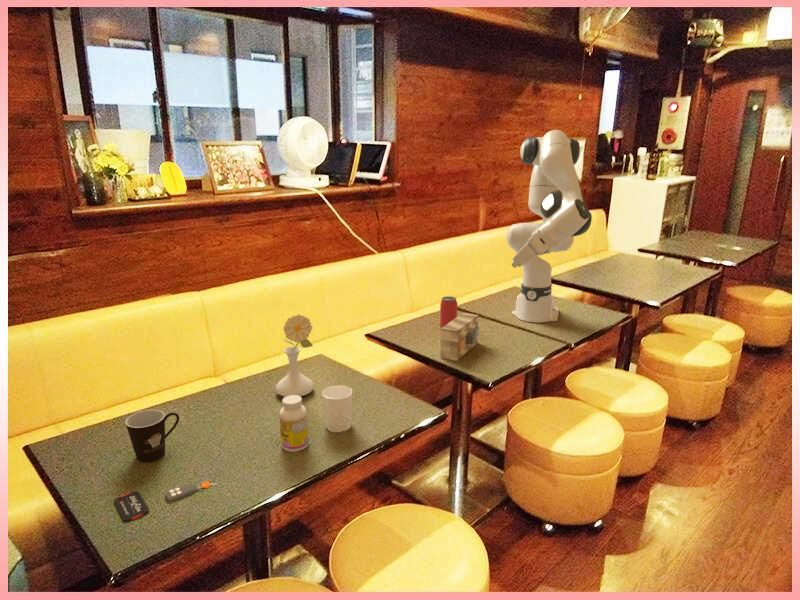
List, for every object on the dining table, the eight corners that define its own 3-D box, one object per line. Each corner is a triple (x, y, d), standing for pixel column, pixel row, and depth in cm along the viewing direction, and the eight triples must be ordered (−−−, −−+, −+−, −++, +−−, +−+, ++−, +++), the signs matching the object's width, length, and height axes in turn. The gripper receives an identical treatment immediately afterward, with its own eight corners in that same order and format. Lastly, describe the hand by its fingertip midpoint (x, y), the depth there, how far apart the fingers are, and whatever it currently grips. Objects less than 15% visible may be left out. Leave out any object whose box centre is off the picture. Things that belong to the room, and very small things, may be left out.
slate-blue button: (471, 333, 204) (471, 326, 203) (478, 335, 202) (479, 327, 201) (467, 336, 201) (468, 328, 200) (475, 338, 200) (475, 330, 199)
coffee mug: (131, 468, 130) (124, 430, 127) (131, 450, 138) (125, 413, 135) (184, 457, 135) (179, 420, 132) (182, 439, 142) (177, 404, 139)
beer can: (457, 330, 217) (458, 301, 213) (440, 330, 217) (440, 301, 214) (456, 324, 223) (456, 296, 220) (439, 324, 223) (440, 296, 220)
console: (462, 339, 208) (463, 312, 205) (477, 342, 205) (478, 315, 202) (440, 357, 192) (440, 328, 189) (456, 360, 189) (457, 331, 186)
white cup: (320, 422, 150) (318, 388, 147) (348, 416, 153) (346, 383, 150) (328, 436, 143) (326, 401, 140) (357, 430, 146) (356, 395, 143)
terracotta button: (456, 345, 193) (456, 337, 192) (464, 347, 191) (464, 339, 190) (453, 348, 190) (453, 340, 189) (461, 350, 189) (461, 342, 188)
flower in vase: (267, 396, 165) (261, 316, 157) (290, 381, 175) (285, 304, 167) (304, 405, 159) (299, 322, 152) (326, 389, 169) (322, 310, 162)
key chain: (169, 505, 118) (168, 499, 118) (165, 496, 121) (164, 490, 121) (229, 483, 125) (229, 478, 125) (224, 475, 128) (223, 470, 128)
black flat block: (112, 498, 119) (137, 489, 122) (113, 501, 119) (137, 492, 122) (124, 522, 112) (150, 511, 115) (124, 525, 112) (150, 514, 115)
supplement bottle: (278, 442, 141) (274, 396, 137) (303, 435, 144) (300, 390, 140) (286, 455, 135) (283, 408, 131) (312, 448, 138) (309, 401, 134)
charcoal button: (468, 340, 197) (468, 332, 197) (476, 341, 196) (476, 333, 195) (464, 343, 195) (465, 335, 194) (472, 344, 194) (473, 336, 193)
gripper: (547, 227, 191) (517, 252, 198) (529, 238, 174) (497, 265, 182) (559, 241, 190) (529, 265, 198) (542, 253, 173) (510, 280, 181)
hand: (514, 265), depth 190 cm, fingers closed
